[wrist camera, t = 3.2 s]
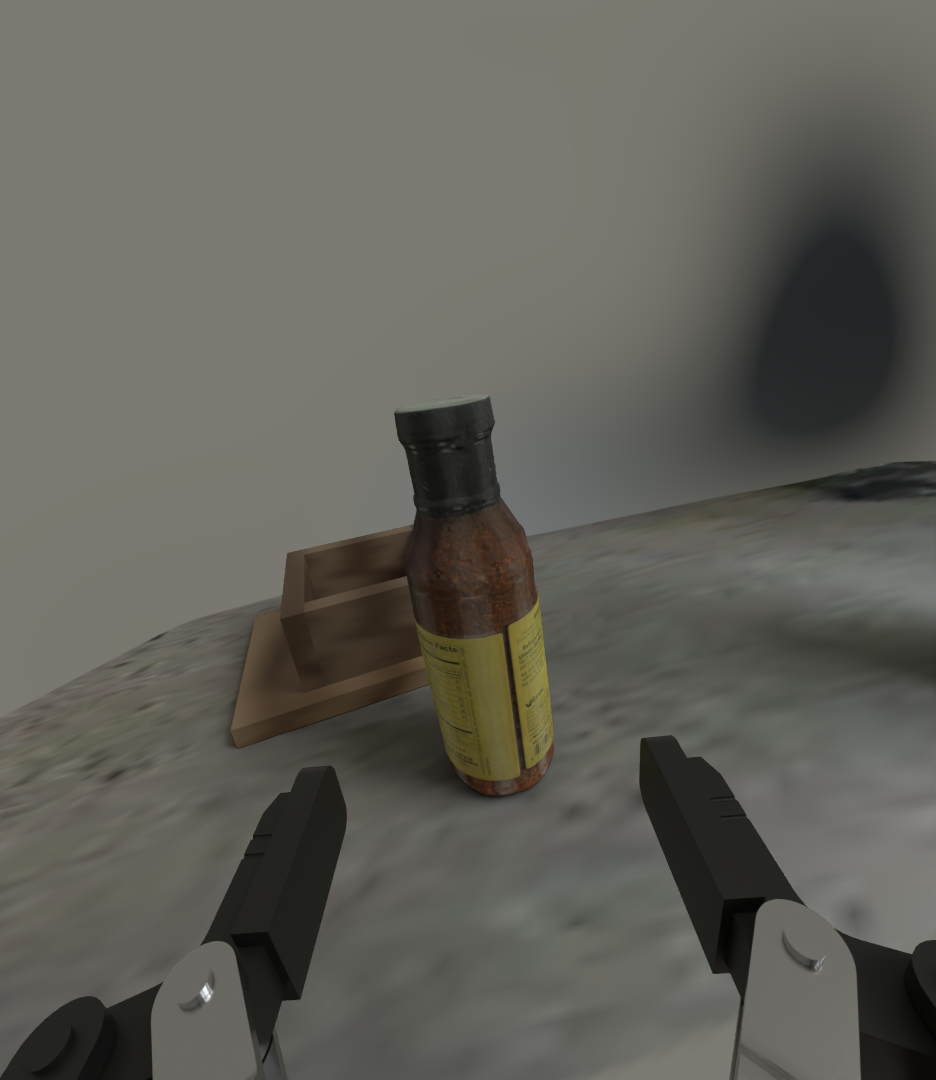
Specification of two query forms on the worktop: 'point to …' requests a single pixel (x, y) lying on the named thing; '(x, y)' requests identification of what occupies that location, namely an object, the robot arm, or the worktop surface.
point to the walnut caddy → (331, 638)
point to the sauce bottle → (475, 600)
